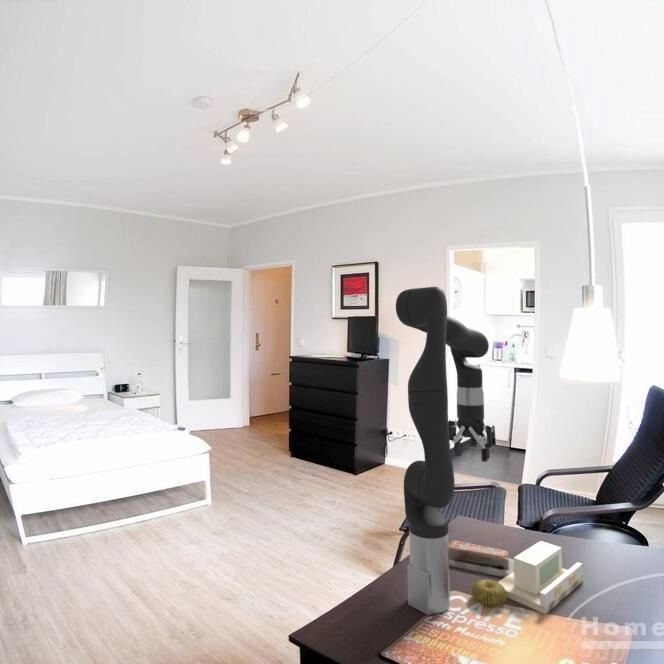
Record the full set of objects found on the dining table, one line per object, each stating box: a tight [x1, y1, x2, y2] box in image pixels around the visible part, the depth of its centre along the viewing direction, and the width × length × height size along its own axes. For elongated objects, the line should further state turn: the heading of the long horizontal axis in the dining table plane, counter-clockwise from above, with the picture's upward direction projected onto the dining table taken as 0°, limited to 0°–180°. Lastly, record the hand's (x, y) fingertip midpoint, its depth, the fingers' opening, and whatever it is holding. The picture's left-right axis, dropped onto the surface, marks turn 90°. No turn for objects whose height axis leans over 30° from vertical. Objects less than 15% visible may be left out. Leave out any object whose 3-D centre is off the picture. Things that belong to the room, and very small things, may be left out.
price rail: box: [540, 561, 584, 608], centre depth 113 cm, size 21×1×3 cm, turn 131°
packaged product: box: [449, 540, 514, 578], centre depth 130 cm, size 18×5×10 cm
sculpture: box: [471, 578, 508, 609], centre depth 112 cm, size 8×4×8 cm
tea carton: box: [513, 540, 563, 595], centre depth 118 cm, size 6×14×7 cm, turn 130°
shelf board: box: [497, 567, 584, 615], centre depth 118 cm, size 21×13×2 cm, turn 131°
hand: (471, 458), depth 135 cm, fingers open, 8 cm apart
